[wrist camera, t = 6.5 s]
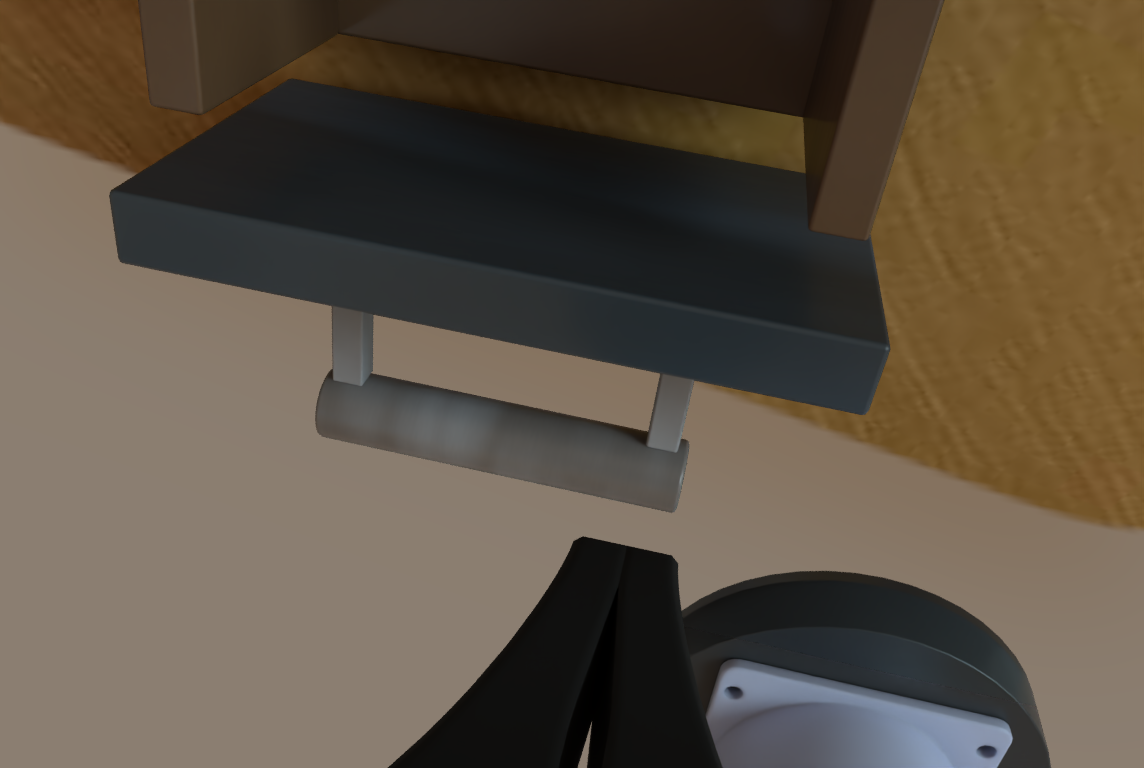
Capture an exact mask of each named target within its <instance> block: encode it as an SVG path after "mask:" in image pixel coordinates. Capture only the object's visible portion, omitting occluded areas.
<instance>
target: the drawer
mask: <svg viewBox="0 0 1144 768" xmlns="http://www.w3.org/2000/svg"><path fill="white" fill-rule="evenodd" d="M138 4H139V13H140V21H141V30H142V39H143V47H144V56H145V65H146V73H147V82H148V91H149V100H150V104H151V105H152V106H155V107H160V108H165V109H171V110H176V111H181V112H187V113H192V114H197V115H202V114H205V113H206V112H208V111H210V110H211V109H213V108H215V107H216V106H218V105H220V104H221V103H223V102H225V101H227V100H228V99H230V98H232V97H233V96H235V95H237V94H238V93H240V92H242V91H243V90H245V89H247V88H248V87H250V86H252V85H253V84H255V83H257V82H258V81H260V80H262V79H264V78H265V77H267V76H269V75H270V74H272V73H274V72H275V71H277V70H279V69H280V68H282V67H284V66H285V65H287V64H289V63H290V62H292V61H294V60H296V59H297V58H299V57H301V56H302V55H304V54H306V53H307V52H309V51H311V50H312V49H314V48H316V47H317V46H319V45H321V44H322V43H324V42H326V41H327V40H329V39H331V38H333V37H334V36H336V35H337V34H343V35H348V36H354V37H359V38H365V39H370V40H376V41H382V42H387V43H393V44H398V45H404V46H409V47H415V48H420V49H426V50H432V51H437V52H443V53H448V54H454V55H459V56H465V57H470V58H476V59H482V60H487V61H493V62H498V63H504V64H509V65H515V66H520V67H526V68H532V69H537V70H543V71H548V72H554V73H559V74H565V75H570V76H576V77H582V78H587V79H593V80H598V81H604V82H609V83H615V84H620V85H626V86H632V87H637V88H643V89H648V90H654V91H659V92H665V93H670V94H676V95H682V96H687V97H693V98H698V99H704V100H709V101H715V102H720V103H726V104H732V105H737V106H743V107H748V108H754V109H759V110H765V111H770V112H776V113H782V114H787V115H793V116H798V117H803V123H804V145H805V168H806V174H805V173H800V172H794V171H789V170H783V169H778V168H773V167H767V166H762V165H756V164H751V163H746V162H740V161H735V160H729V159H724V158H719V157H713V156H708V155H702V154H697V153H692V152H686V151H681V150H675V149H670V148H665V147H659V146H654V145H648V144H643V143H637V142H632V141H627V140H621V139H616V138H610V137H605V136H600V135H594V134H589V133H583V132H578V131H573V130H567V129H562V128H556V127H551V126H546V125H540V124H535V123H529V122H524V121H519V120H513V119H508V118H502V117H497V116H492V115H486V114H481V113H475V112H470V111H465V110H459V109H454V108H448V107H443V106H437V105H432V104H427V103H421V102H416V101H410V100H405V99H400V98H394V97H389V96H383V95H378V94H373V93H367V92H362V91H356V90H351V89H346V88H340V87H335V86H329V85H324V84H319V83H313V82H308V81H302V80H297V79H288V80H287V81H285V82H284V83H282V84H280V85H279V86H277V87H276V88H274V89H272V90H271V91H269V92H268V93H266V94H264V95H263V96H261V97H260V98H258V99H256V100H255V101H253V102H252V103H250V104H248V105H247V106H245V107H244V108H242V109H240V110H239V111H237V112H236V113H234V114H232V115H231V116H229V117H228V118H226V119H224V120H223V121H221V122H220V123H218V124H216V125H215V126H213V127H212V128H210V129H208V130H207V131H205V132H204V133H202V134H200V135H199V136H197V137H196V138H194V139H192V140H191V141H189V142H188V143H186V144H184V145H183V146H181V147H180V148H178V149H176V150H175V151H173V152H172V153H170V154H168V155H167V156H165V157H164V158H162V159H160V160H159V161H157V162H156V163H154V164H152V165H151V166H149V167H148V168H146V169H144V170H143V171H141V172H140V173H138V174H136V175H135V176H133V177H132V178H130V179H128V180H127V181H125V182H124V183H122V184H121V185H119V186H117V187H116V188H114V189H113V190H111V192H110V195H109V197H110V204H111V210H112V217H113V224H114V231H115V238H116V245H117V252H118V258H119V260H120V262H122V263H125V264H130V265H135V266H140V267H145V268H149V269H154V270H159V271H165V272H169V273H174V274H179V275H184V276H189V277H193V278H199V279H203V280H208V281H213V282H218V283H223V284H227V285H232V286H237V287H242V288H247V289H252V290H257V291H261V292H266V293H271V294H277V295H281V296H286V297H291V298H295V299H300V300H305V301H311V302H315V303H320V304H325V305H329V306H332V353H333V355H332V356H333V369H332V370H330V372H329V373H328V374H327V376H326V378H325V380H324V382H323V384H322V387H321V389H320V392H319V396H318V400H317V406H316V418H315V421H316V428H317V432H318V433H319V434H320V435H321V436H323V437H326V438H331V439H336V440H341V441H345V442H350V443H354V444H359V445H363V446H368V447H373V448H377V449H382V450H386V451H391V452H396V453H400V454H404V455H409V456H414V457H418V458H423V459H427V460H432V461H437V462H442V463H446V464H450V465H455V466H459V467H464V468H469V469H473V470H478V471H482V472H487V473H492V474H496V475H501V476H505V477H510V478H515V479H519V480H524V481H528V482H533V483H537V484H542V485H547V486H551V487H556V488H561V489H565V490H570V491H574V492H579V493H584V494H588V495H593V496H597V497H602V498H606V499H611V500H616V501H620V502H625V503H629V504H634V505H639V506H643V507H648V508H652V509H657V510H661V511H666V512H674V511H675V510H676V508H677V505H678V501H679V497H680V493H681V488H682V484H683V479H684V474H685V469H686V464H687V458H688V452H689V442H688V441H687V440H685V439H681V436H682V432H683V427H684V423H685V419H686V414H687V410H688V406H689V401H690V397H691V393H692V388H693V384H694V381H699V382H704V383H709V384H714V385H719V386H724V387H729V388H733V389H738V390H743V391H748V392H753V393H758V394H763V395H767V396H772V397H777V398H782V399H787V400H792V401H797V402H802V403H806V404H811V405H816V406H821V407H826V408H831V409H836V410H840V411H845V412H850V413H855V414H860V415H864V414H866V413H867V412H868V410H869V408H870V405H871V402H872V400H873V397H874V394H875V391H876V388H877V386H878V383H879V380H880V377H881V374H882V372H883V369H884V366H885V363H886V360H887V358H888V355H889V352H890V343H889V337H888V332H887V326H886V320H885V315H884V309H883V303H882V298H881V292H880V286H879V281H878V275H877V269H876V264H875V258H874V252H873V247H872V241H871V235H870V233H871V230H872V227H873V223H874V220H875V217H876V214H877V211H878V208H879V205H880V201H881V198H882V195H883V192H884V189H885V186H886V183H887V179H888V176H889V173H890V170H891V167H892V164H893V161H894V157H895V154H896V151H897V148H898V145H899V142H900V139H901V135H902V132H903V129H904V126H905V123H906V120H907V117H908V113H909V110H910V107H911V104H912V101H913V98H914V95H915V91H916V88H917V85H918V82H919V79H920V76H921V73H922V69H923V66H924V63H925V60H926V57H927V54H928V51H929V47H930V44H931V41H932V38H933V35H934V32H935V29H936V26H937V22H938V19H939V16H940V13H941V10H942V7H943V4H944V0H138ZM373 315H378V316H383V317H388V318H393V319H398V320H403V321H407V322H412V323H417V324H422V325H427V326H432V327H437V328H442V329H446V330H451V331H456V332H461V333H466V334H471V335H476V336H480V337H485V338H490V339H495V340H500V341H505V342H510V343H515V344H519V345H525V346H529V347H534V348H539V349H544V350H549V351H554V352H558V353H563V354H568V355H573V356H578V357H583V358H588V359H592V360H597V361H602V362H608V363H612V364H617V365H621V366H627V367H632V368H636V369H641V370H646V371H651V372H656V373H660V378H659V383H658V387H657V392H656V397H655V402H654V407H653V412H652V416H651V421H650V426H649V431H648V432H647V431H642V430H638V429H633V428H628V427H623V426H619V425H614V424H609V423H604V422H600V421H595V420H590V419H586V418H581V417H576V416H571V415H566V414H561V413H556V412H552V411H548V410H543V409H538V408H533V407H529V406H524V405H519V404H514V403H509V402H505V401H500V400H496V399H491V398H486V397H481V396H477V395H472V394H467V393H462V392H458V391H453V390H448V389H443V388H439V387H433V386H429V385H424V384H420V383H415V382H410V381H405V380H401V379H396V378H391V377H387V376H381V375H377V374H372V373H371V372H372V371H373Z"/></svg>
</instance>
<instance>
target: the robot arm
mask: <svg viewBox="0 0 1144 768" xmlns="http://www.w3.org/2000/svg"><path fill="white" fill-rule="evenodd" d="M730 686H734V687H738V688H731V687H730ZM591 722H592V726H591V735H590V745H589V754H588V764H587V768H997V767H998V765H999V763H1000V762H1001V760H1002V758H1003V757H1004V755H1005V753H1006V751H1007V750H1008V748H1009V746H1010V745H1011V743H1012V739H1013V738H1012V734H1011V730H1010V727H1009V725H1008V724H1007V723H1006V722H1005V721H1004V720H1001V719H998V718H995V717H991V716H986V715H982V714H978V713H973V712H969V711H964V710H960V709H956V708H951V707H947V706H943V705H938V704H934V703H930V702H925V701H921V700H917V699H912V698H908V697H904V696H899V695H895V694H890V693H886V692H882V691H877V690H873V689H869V688H864V687H860V686H856V685H851V684H847V683H843V682H838V681H834V680H829V679H825V678H821V677H816V676H812V675H808V674H803V673H799V672H795V671H790V670H786V669H782V668H777V667H773V666H769V665H764V664H760V663H755V662H751V661H747V660H742V659H731V660H727V661H726V662H724V663H723V664H722V665H721V667H720V670H719V673H718V676H717V679H716V683H715V686H714V689H713V692H712V696H711V699H710V702H709V705H708V709H707V712H706V715H705V712H704V709H703V705H702V702H701V698H700V695H699V691H698V687H697V683H696V679H695V675H694V671H693V667H692V663H691V659H690V655H689V650H688V645H687V640H686V635H685V630H684V624H683V618H682V612H681V605H680V597H679V585H678V563H677V562H676V561H675V559H674V558H673V557H672V556H671V555H667V554H663V553H657V552H653V551H649V550H644V549H639V548H635V547H630V546H625V545H621V544H616V543H611V542H607V541H602V540H597V539H593V538H588V537H581V538H579V539H577V540H575V541H573V544H572V546H571V549H570V551H569V553H568V555H567V557H566V559H565V561H564V563H563V565H562V567H561V568H560V570H559V571H558V574H557V575H556V577H555V578H554V580H553V581H552V583H551V585H550V586H549V588H548V589H547V591H546V592H545V594H544V595H543V597H542V598H541V600H540V601H539V603H538V604H537V606H536V607H535V608H534V610H533V611H532V612H531V614H530V615H529V616H528V618H527V619H526V620H525V622H524V623H523V625H522V626H521V627H520V628H519V630H518V631H517V632H516V634H515V635H514V637H513V638H512V639H511V640H510V642H509V643H508V644H507V646H506V647H505V648H504V649H503V651H502V652H501V653H500V654H499V655H498V656H497V657H496V659H495V660H494V661H493V662H492V663H491V664H490V666H489V667H488V668H487V669H486V670H485V671H484V673H483V674H482V675H481V676H480V677H479V678H478V680H477V681H476V682H475V683H474V684H473V685H472V686H471V688H470V689H469V690H468V691H467V692H466V693H465V694H464V695H463V696H462V697H461V698H460V700H458V701H457V703H456V704H455V705H454V706H453V707H452V708H451V709H450V710H449V711H448V712H447V713H446V714H445V715H444V716H443V717H442V718H441V719H440V720H439V721H438V722H437V723H436V724H435V725H434V726H433V727H432V728H431V729H430V730H429V731H428V732H427V733H426V734H425V735H424V736H422V738H420V739H419V740H418V741H417V742H416V743H415V744H414V745H413V746H411V748H409V749H408V750H407V751H406V752H405V753H404V754H403V755H401V756H400V757H399V758H398V759H397V760H396V761H395V762H394V763H393V764H392V765H390V766H389V767H388V768H578V764H579V761H580V758H581V755H582V751H583V748H584V745H585V742H586V738H587V735H588V732H589V728H590V725H591ZM984 745H987V746H984Z"/></svg>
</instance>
